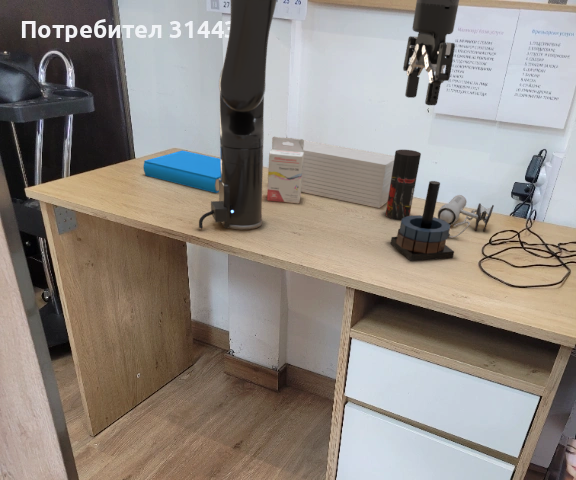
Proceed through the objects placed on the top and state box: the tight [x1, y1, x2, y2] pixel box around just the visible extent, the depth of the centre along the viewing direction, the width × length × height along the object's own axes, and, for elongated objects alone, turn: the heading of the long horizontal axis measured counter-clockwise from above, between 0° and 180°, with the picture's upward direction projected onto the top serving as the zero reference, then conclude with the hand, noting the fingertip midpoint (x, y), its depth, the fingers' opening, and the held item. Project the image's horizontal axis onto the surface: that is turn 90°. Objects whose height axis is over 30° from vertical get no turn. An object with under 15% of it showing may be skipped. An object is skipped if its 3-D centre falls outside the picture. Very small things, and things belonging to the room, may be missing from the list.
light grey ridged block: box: [282, 139, 395, 209], centre depth 149 cm, size 32×11×11 cm, turn 63°
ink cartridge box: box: [266, 136, 305, 204], centre depth 140 cm, size 9×5×15 cm, turn 84°
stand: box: [390, 180, 455, 262], centre depth 116 cm, size 10×10×14 cm
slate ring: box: [399, 214, 451, 242], centre depth 118 cm, size 10×10×2 cm
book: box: [143, 149, 221, 194], centre depth 155 cm, size 17×4×25 cm
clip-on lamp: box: [437, 194, 495, 239], centre depth 131 cm, size 12×6×18 cm
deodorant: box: [385, 149, 422, 221], centre depth 134 cm, size 6×6×15 cm
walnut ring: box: [396, 228, 447, 253], centre depth 119 cm, size 10×10×2 cm
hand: (420, 101), depth 110 cm, fingers open, 8 cm apart
